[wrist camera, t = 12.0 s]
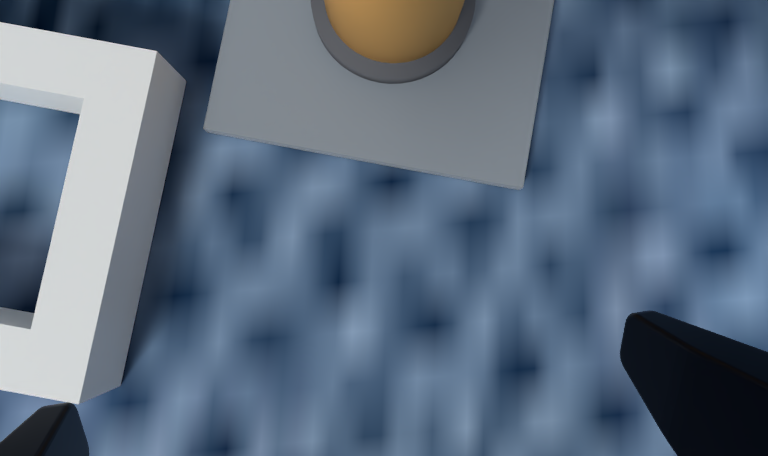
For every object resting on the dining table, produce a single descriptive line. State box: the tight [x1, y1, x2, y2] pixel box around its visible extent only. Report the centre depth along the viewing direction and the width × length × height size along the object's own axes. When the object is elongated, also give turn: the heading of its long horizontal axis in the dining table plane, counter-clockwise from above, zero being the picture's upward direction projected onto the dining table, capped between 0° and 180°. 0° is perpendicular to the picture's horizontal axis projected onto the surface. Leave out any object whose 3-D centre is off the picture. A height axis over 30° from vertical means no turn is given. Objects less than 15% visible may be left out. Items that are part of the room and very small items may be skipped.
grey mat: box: [203, 0, 554, 190], centre depth 22 cm, size 12×12×1 cm
